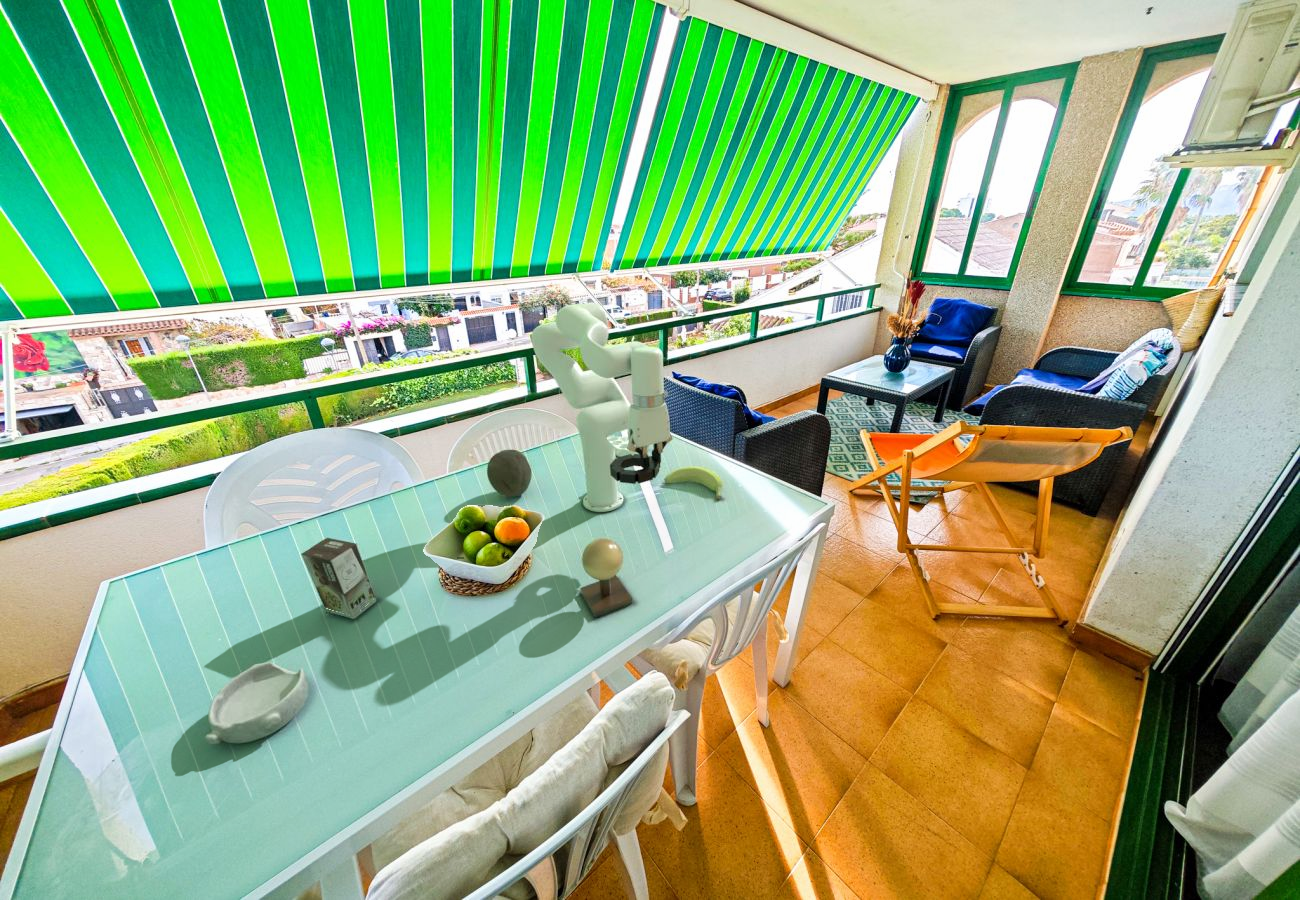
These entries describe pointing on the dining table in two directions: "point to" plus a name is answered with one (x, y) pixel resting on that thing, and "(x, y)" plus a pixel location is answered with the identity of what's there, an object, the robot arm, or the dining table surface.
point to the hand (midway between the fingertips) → (650, 467)
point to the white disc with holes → (621, 445)
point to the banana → (697, 477)
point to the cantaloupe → (509, 473)
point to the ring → (631, 475)
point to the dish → (256, 703)
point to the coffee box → (339, 577)
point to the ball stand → (604, 577)
